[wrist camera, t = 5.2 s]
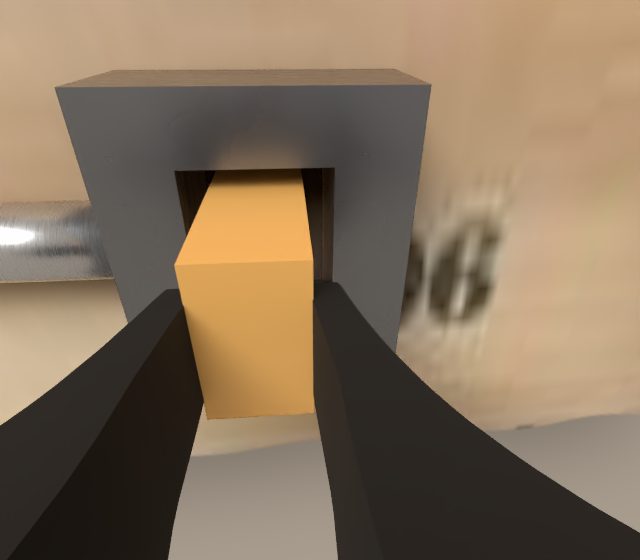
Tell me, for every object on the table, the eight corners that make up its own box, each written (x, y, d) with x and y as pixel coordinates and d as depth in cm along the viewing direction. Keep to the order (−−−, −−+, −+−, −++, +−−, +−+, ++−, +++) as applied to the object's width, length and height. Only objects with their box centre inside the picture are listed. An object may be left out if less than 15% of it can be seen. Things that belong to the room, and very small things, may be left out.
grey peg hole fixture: (394, 69, 12) (431, 84, 9) (372, 315, 17) (392, 377, 14) (-196, 72, 11) (-374, 90, 8) (-40, 333, 16) (-115, 406, 13)
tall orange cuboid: (298, 153, 13) (313, 260, 7) (301, 262, 15) (314, 413, 9) (222, 154, 13) (174, 265, 7) (236, 264, 15) (207, 419, 9)
